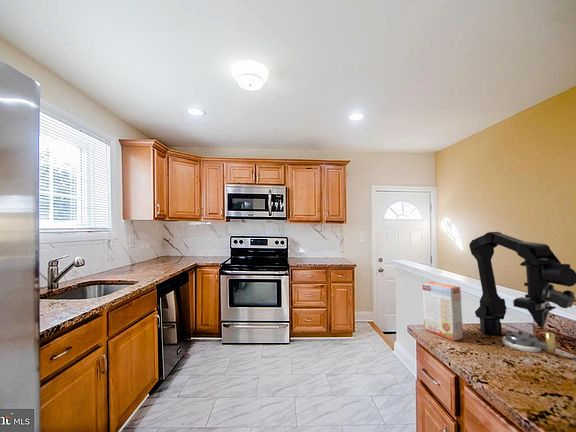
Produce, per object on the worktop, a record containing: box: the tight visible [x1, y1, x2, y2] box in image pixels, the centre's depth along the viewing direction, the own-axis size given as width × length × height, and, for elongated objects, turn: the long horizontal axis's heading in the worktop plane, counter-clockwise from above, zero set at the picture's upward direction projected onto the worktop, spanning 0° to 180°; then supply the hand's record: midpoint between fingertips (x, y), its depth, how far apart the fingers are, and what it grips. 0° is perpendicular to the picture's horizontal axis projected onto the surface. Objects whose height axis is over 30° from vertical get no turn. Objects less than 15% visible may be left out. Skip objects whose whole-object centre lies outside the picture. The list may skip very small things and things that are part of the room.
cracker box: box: [422, 281, 464, 342], centre depth 115 cm, size 14×6×21 cm, turn 22°
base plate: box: [501, 335, 542, 353], centre depth 102 cm, size 11×11×2 cm
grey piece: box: [505, 329, 557, 354], centre depth 100 cm, size 15×9×6 cm, turn 20°
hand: (541, 326), depth 92 cm, fingers closed
